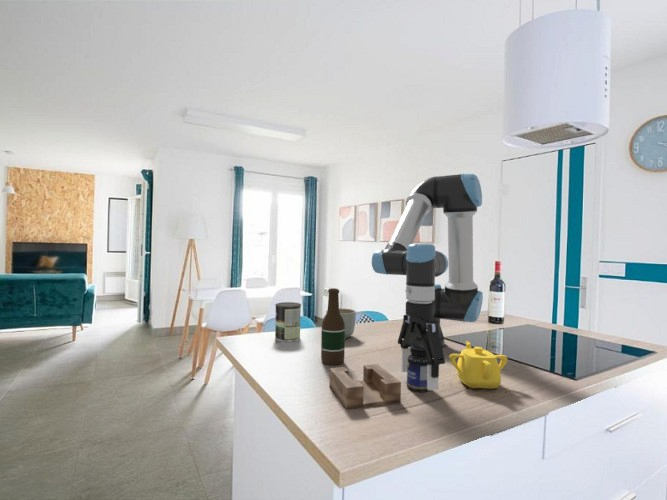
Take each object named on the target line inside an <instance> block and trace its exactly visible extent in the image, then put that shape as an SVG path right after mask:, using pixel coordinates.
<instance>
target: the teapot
mask: <svg viewBox="0 0 667 500" xmlns="http://www.w3.org/2000/svg"><path fill="white" fill-rule="evenodd" d="M465 345H466V346H465V347H466V348H463V349H461V352H460V353H450V354H449V360H450V363H451V364H452V366H453V367H454V369H456V375H457V377H458V379H459V380H460V382H461V383H462V384H464V385H465V386H467V387H468V388H469V389H488V390H493V389H498V388H499V387H500V385H501V382H502V375H501V371H502V370H503V368H504V367H505V366H506V364H507V363H508V357H507V355H505V354H494V353H492V352H491V351H490V350H489V351H488V350H487V349H484V348H483V347H481V346H474V347H473V346H472V345H471V342H470V341H468V340H465ZM472 347H473V348H472ZM456 358H458V360H457V362H456ZM498 359H500V362H499V363H498Z"/></svg>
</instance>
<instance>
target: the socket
mask: <svg viewBox="0 0 667 500" xmlns="http://www.w3.org/2000/svg"><path fill="white" fill-rule="evenodd" d="M362 370H363V378H362V379H363V380H357V381H356V380H353V379H352V378H351V377H350V376H349V370H348V369H347V368H346V367H345V366H342V367H331V368H329V389H330V390H331V391H332V392H333V394H334V395H335V396H336V398H337V399H338V400H339V401H340V403H341V404H342V405H343V407H344V408H345V409H346V410H350V409H351V410H352V409H359V408H367V407H374V406H375V407H376V406H382V405H383V406H384V405H391V404H399V403H402V402H401V401H402V400H401V396H402V395H401V393H402V391H401V390H402V381H400V380H399V379H398V378H396V377H395V376H394V375H392V374H391V373H390V372H388V370H386V369H385V368H383V367H382V366H380V365H379V363H375V364H366V365H365V364H364V365H363V369H362Z"/></svg>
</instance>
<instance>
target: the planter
mask: <svg viewBox="0 0 667 500" xmlns="http://www.w3.org/2000/svg"><path fill="white" fill-rule="evenodd" d="M325 311H326V312H325V313H326V314H327V310H325ZM356 311H357V310H355V309H351V308H342V307H341V308H340V307H339V312H340V315H341V317H342V318H343V321H344V324H345V339H348V338H350V337H351V336H353V335H354V332H355V328H356V320H357V319H356V317H357V316H356V315H357V314H356V313H357V312H356ZM326 314H325V315H326Z"/></svg>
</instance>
